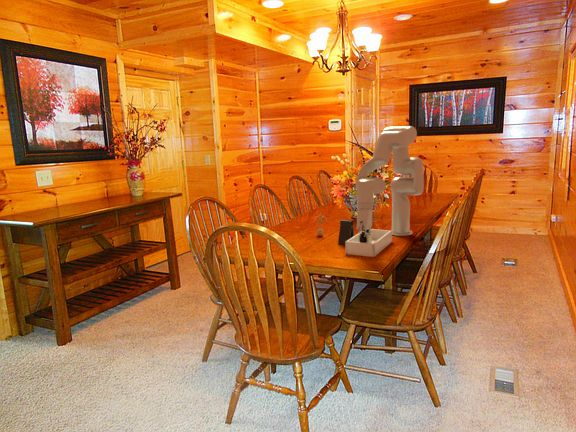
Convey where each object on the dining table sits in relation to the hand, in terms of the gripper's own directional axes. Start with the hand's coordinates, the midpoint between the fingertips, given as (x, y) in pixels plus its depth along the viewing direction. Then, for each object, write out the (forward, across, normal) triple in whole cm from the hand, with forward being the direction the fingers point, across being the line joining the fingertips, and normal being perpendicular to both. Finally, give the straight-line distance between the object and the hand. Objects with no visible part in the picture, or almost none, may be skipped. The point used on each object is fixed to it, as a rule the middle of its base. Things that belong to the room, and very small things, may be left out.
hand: (365, 242), depth 206 cm
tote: (+4, -7, 0) cm, 8 cm away
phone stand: (+4, -12, -14) cm, 19 cm away
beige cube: (+1, 0, 0) cm, 1 cm away
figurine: (+4, -22, -34) cm, 40 cm away
